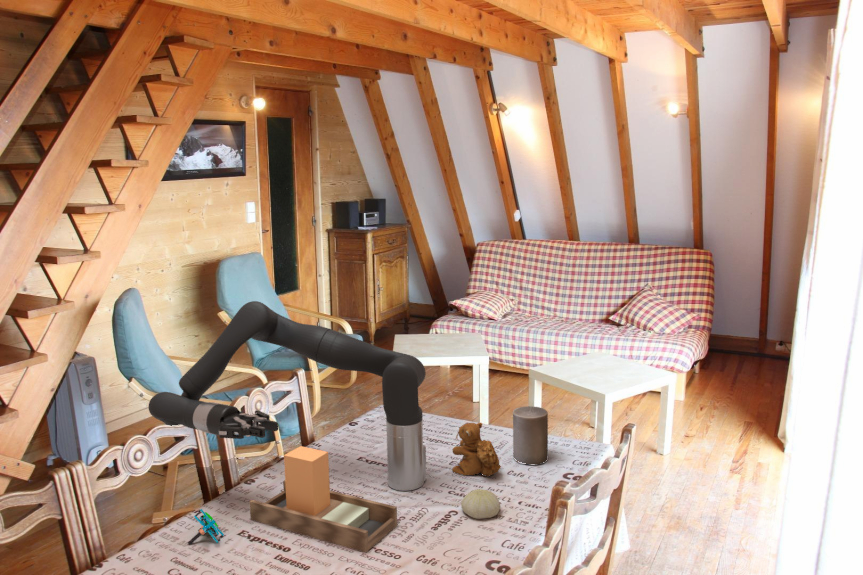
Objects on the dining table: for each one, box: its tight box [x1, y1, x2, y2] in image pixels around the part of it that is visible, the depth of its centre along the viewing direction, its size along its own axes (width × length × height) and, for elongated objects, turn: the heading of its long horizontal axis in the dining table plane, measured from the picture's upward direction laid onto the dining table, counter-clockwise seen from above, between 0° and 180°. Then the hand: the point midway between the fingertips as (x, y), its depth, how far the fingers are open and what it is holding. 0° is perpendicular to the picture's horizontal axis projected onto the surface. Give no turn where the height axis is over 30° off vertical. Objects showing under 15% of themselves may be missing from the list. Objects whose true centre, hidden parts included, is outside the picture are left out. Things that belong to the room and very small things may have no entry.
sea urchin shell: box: [460, 488, 501, 520], centre depth 165 cm, size 9×8×8 cm
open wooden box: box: [249, 480, 398, 554], centre depth 161 cm, size 32×13×4 cm, turn 62°
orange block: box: [283, 445, 331, 516], centre depth 161 cm, size 8×6×13 cm
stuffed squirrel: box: [451, 422, 502, 477], centre depth 186 cm, size 10×14×13 cm
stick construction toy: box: [187, 508, 225, 546], centre depth 155 cm, size 12×7×8 cm
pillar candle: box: [512, 405, 549, 465], centre depth 194 cm, size 10×10×15 cm
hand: (270, 429), depth 164 cm, fingers open, 4 cm apart
